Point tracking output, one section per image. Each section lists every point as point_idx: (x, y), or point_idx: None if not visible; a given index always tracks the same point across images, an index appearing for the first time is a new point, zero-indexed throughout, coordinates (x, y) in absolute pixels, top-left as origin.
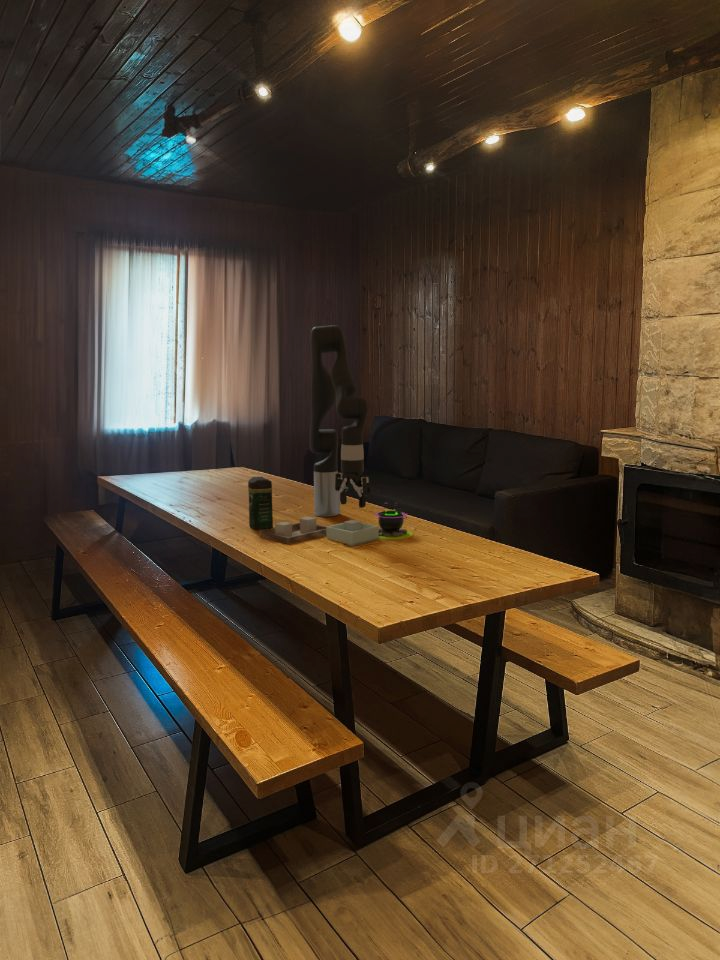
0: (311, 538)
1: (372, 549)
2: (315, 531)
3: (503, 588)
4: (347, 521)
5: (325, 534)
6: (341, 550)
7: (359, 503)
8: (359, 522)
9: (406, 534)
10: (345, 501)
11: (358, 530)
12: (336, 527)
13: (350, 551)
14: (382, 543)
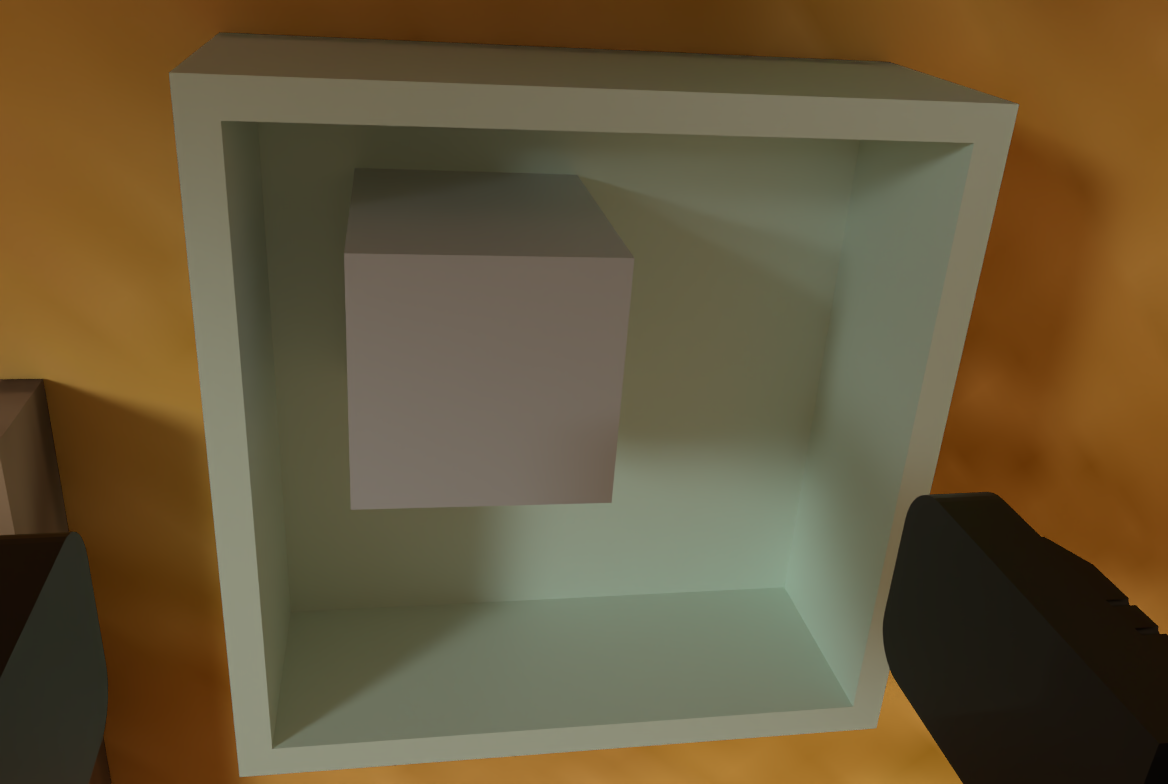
0: (98, 770)
1: (1080, 522)
2: None
3: None
4: (391, 449)
5: (52, 529)
6: (791, 773)
7: (964, 747)
8: (627, 299)
9: None
10: (61, 620)
11: (880, 596)
12: (265, 559)
13: (902, 735)
14: (1057, 210)
